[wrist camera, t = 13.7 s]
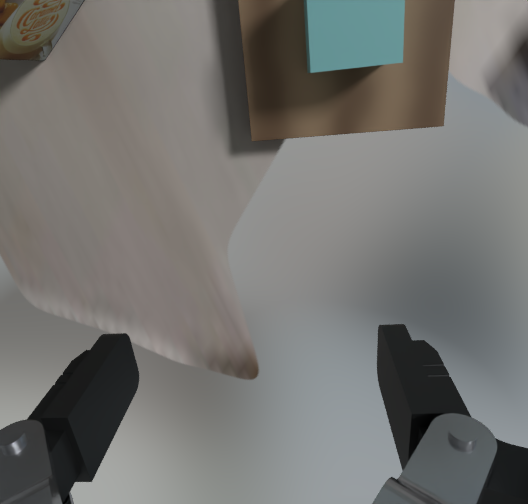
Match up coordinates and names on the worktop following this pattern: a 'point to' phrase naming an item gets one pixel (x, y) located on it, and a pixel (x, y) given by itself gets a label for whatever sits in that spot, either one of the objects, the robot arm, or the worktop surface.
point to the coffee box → (33, 26)
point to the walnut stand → (342, 75)
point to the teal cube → (353, 33)
